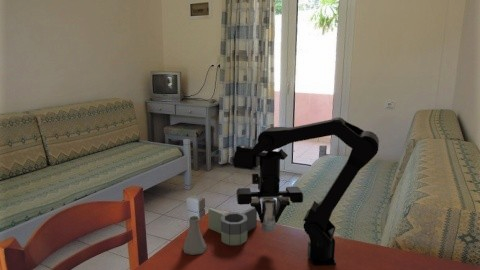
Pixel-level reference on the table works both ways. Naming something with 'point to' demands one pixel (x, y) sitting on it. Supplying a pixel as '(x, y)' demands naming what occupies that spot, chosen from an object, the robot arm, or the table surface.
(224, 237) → the pale green bracket
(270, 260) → the table surface
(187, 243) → the flask
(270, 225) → the pin
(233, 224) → the grey hollow faceted fixture
